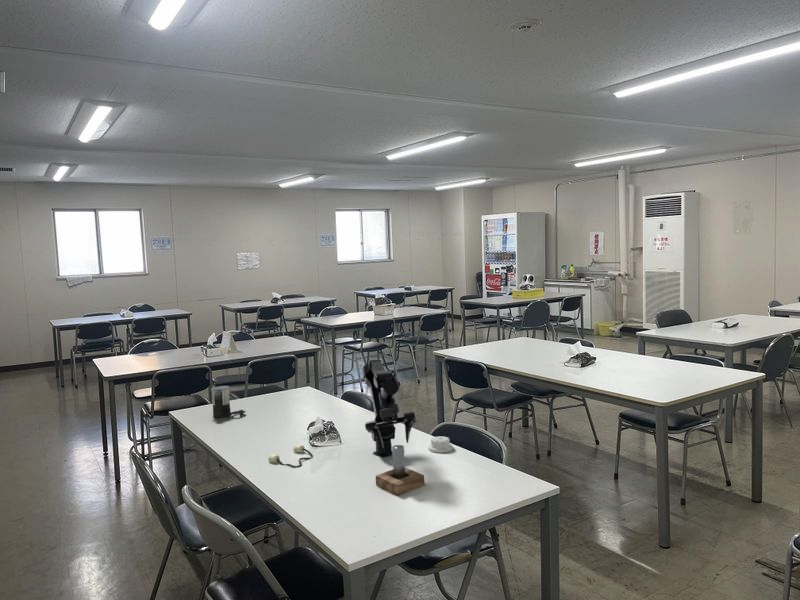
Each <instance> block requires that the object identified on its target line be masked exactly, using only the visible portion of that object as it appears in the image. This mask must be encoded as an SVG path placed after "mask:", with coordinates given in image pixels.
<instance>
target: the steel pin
mask: <svg viewBox="0 0 800 600" xmlns="http://www.w3.org/2000/svg"><path fill="white" fill-rule="evenodd" d="M392 451H393V454H392V463H393V464H392V465H393V466H392V468H393V469H394V478H395V479H398V480H400V479H402V478H405V477H406V476H405V467H406V461H405V446H404V445H402V444H395V445H393V446H392ZM393 469H392V470H393Z"/></svg>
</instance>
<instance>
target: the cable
mask: <svg viewBox="0 0 800 600" xmlns="http://www.w3.org/2000/svg"><path fill="white" fill-rule="evenodd" d="M292 451H293V452H294V453H295V454H302V453H304V452H305V453H308V455H310V457H300V458H299V459H298V463H299V464H298V465H292V464H290V463H283V462H282V461H281V460H280V457H281V456H279V454H270V455H269V457H268V459H267V460H268V462H269V463H271V464H277V463H279V464H280V465H281V466H288V467H291V468H294V469H297V468H300V467H302V466H303V465H302V464H303V463H302V461H303V460H311V459H313V457H314V455H313V453H311V452H310V451H309V450H308V449H306V448H305V446H304V445H302V444H300V445H299V444H296V445H294V447H293V450H292Z"/></svg>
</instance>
